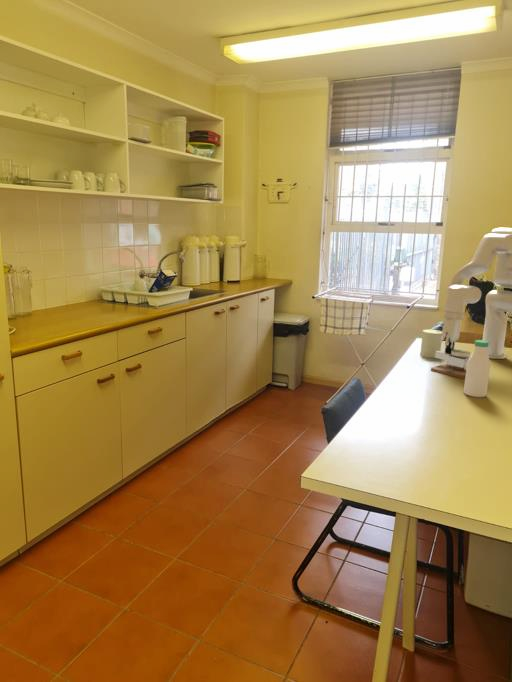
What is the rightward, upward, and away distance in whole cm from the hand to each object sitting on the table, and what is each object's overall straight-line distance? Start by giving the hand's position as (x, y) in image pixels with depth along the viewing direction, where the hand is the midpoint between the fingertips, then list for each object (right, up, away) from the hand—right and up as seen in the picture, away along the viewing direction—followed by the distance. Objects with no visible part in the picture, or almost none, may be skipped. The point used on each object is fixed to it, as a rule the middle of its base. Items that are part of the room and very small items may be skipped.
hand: (448, 356), depth 221 cm
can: (-1, 0, +20) cm, 20 cm away
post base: (+1, -6, -7) cm, 10 cm away
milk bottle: (-4, -13, -36) cm, 38 cm away
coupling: (-1, -2, -5) cm, 6 cm away
